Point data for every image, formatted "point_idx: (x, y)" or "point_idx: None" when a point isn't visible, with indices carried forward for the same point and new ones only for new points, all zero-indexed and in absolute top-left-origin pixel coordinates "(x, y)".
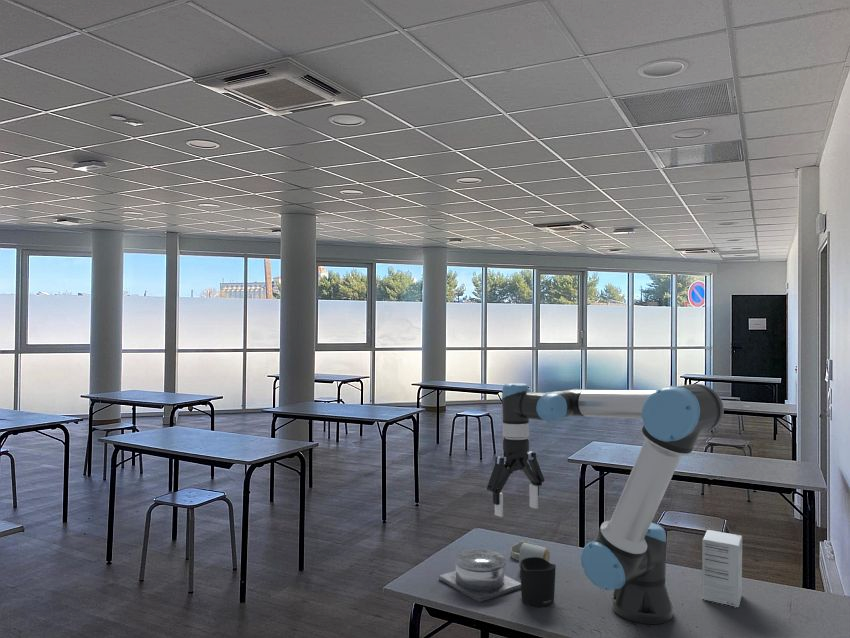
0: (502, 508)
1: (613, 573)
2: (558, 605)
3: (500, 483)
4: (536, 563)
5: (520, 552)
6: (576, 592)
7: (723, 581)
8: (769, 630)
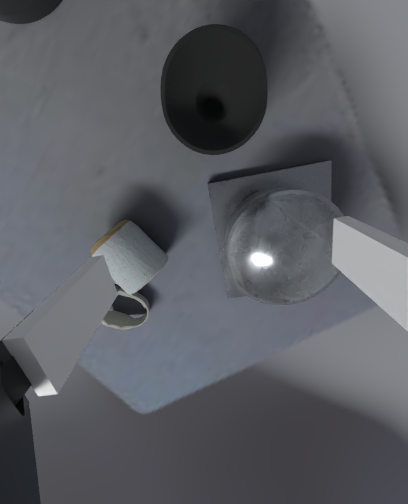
0: (364, 231)
1: None
2: None
3: None
4: (194, 138)
5: (160, 266)
6: (108, 111)
7: None
8: None
